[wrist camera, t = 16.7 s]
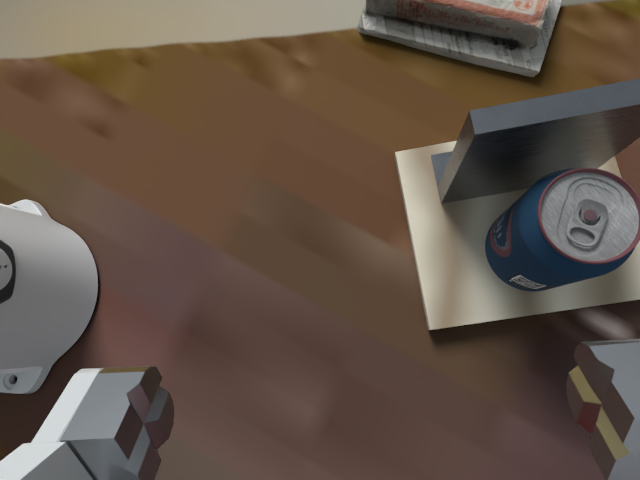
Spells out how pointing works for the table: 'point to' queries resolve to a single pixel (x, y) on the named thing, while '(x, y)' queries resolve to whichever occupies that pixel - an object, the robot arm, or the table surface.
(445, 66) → the table surface
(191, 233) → the table surface
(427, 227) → the shelf plank
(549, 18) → the packaged product
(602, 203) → the soda can
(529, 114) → the bookend
